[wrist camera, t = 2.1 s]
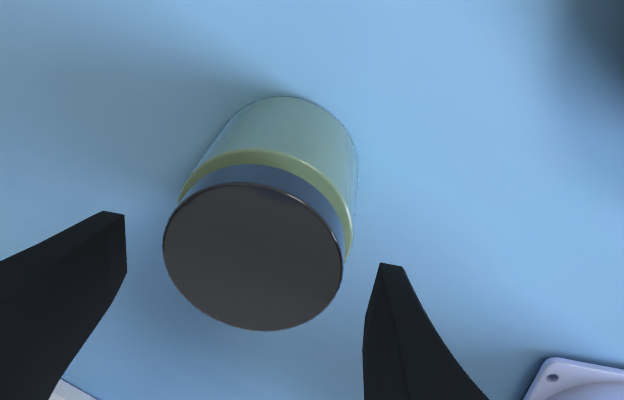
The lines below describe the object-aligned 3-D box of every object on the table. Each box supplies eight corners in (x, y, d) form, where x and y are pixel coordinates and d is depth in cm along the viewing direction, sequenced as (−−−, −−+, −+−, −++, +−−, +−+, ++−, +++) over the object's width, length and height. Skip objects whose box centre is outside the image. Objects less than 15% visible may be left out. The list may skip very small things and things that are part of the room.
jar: (343, 235, 21) (332, 352, 15) (213, 211, 21) (155, 318, 16) (371, 110, 18) (369, 198, 13) (221, 83, 18) (153, 158, 13)
